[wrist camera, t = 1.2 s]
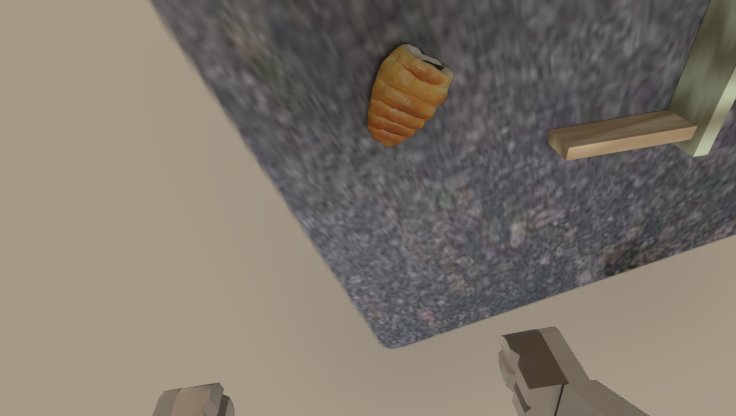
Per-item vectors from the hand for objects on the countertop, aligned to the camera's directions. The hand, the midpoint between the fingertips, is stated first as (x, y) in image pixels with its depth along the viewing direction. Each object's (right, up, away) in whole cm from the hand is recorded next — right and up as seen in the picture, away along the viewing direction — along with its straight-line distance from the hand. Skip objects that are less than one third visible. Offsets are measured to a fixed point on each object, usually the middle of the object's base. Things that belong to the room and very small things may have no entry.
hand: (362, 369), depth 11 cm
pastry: (+4, +16, +26) cm, 31 cm away
